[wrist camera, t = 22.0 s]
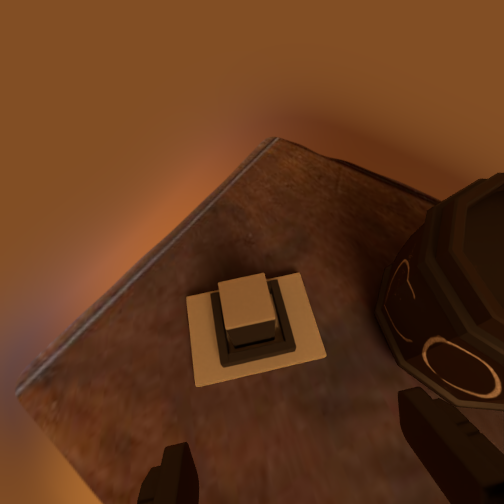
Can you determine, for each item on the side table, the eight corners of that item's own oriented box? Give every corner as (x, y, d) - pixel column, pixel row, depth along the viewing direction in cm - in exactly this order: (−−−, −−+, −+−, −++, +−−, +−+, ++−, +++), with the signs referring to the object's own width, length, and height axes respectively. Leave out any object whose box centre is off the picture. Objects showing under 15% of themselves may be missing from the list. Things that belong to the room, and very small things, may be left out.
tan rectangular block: (265, 302, 34) (264, 272, 28) (274, 340, 32) (275, 317, 25) (228, 310, 34) (217, 282, 27) (235, 349, 32) (225, 328, 25)
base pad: (298, 276, 37) (301, 264, 34) (325, 357, 32) (329, 351, 29) (188, 300, 36) (181, 290, 34) (197, 387, 31) (190, 383, 29)
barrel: (464, 462, 27) (660, 501, 13) (337, 303, 35) (379, 227, 22) (586, 354, 31) (833, 300, 17) (446, 234, 39) (539, 133, 25)
